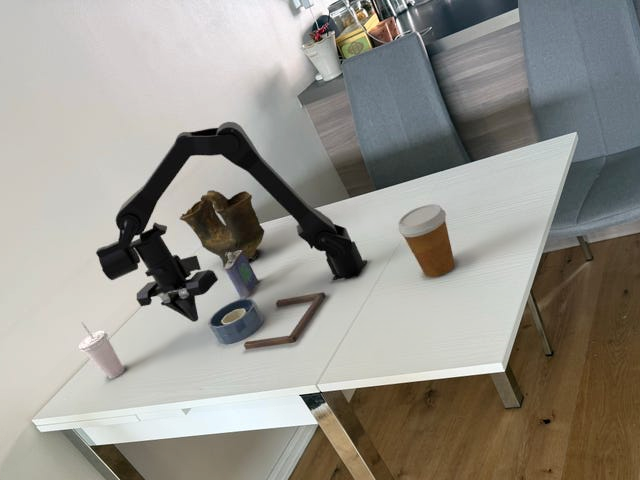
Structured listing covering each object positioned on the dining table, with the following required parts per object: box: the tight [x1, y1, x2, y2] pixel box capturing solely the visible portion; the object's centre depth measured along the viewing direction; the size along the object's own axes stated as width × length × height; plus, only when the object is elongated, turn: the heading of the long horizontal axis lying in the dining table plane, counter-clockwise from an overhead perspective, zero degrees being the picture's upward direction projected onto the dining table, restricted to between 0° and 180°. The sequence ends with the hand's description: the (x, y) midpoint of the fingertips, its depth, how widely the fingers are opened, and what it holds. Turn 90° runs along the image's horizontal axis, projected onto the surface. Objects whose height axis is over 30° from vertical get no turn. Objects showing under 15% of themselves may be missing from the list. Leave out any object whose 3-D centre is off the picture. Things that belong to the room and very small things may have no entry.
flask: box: [224, 250, 260, 299], centre depth 162 cm, size 9×3×11 cm, turn 172°
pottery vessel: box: [179, 189, 265, 269], centre depth 179 cm, size 25×11×20 cm, turn 56°
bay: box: [243, 291, 326, 350], centre depth 142 cm, size 12×16×2 cm
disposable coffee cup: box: [397, 203, 456, 278], centre depth 133 cm, size 10×10×12 cm
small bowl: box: [221, 308, 247, 325], centre depth 146 cm, size 6×6×3 cm
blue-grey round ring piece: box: [208, 297, 264, 345], centre depth 146 cm, size 11×11×5 cm
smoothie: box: [78, 321, 125, 379], centre depth 151 cm, size 6×6×14 cm
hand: (196, 320), depth 150 cm, fingers closed
